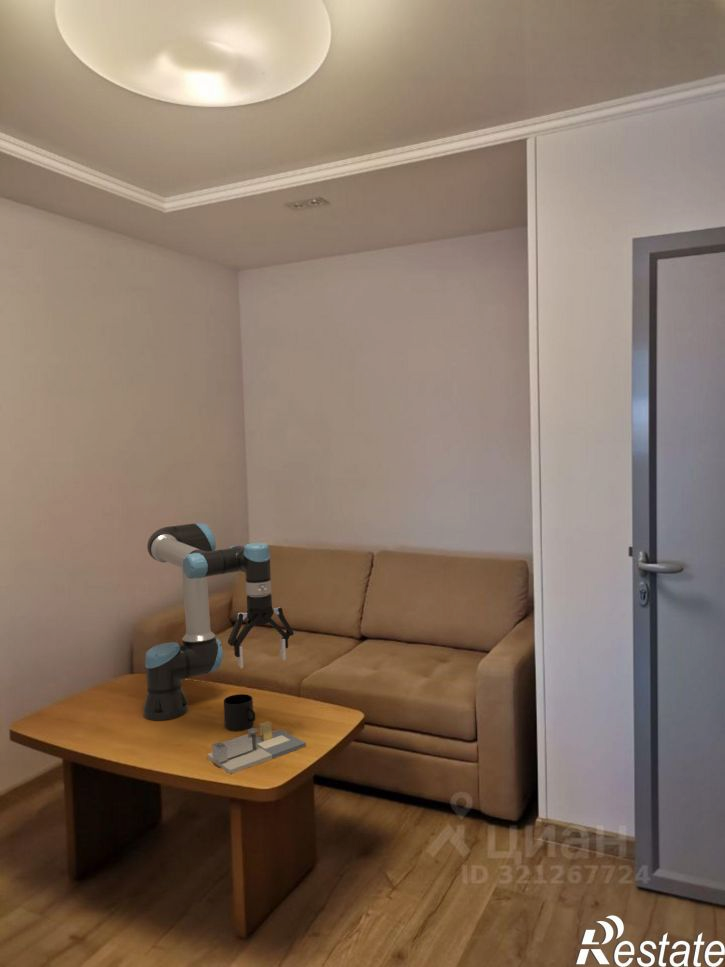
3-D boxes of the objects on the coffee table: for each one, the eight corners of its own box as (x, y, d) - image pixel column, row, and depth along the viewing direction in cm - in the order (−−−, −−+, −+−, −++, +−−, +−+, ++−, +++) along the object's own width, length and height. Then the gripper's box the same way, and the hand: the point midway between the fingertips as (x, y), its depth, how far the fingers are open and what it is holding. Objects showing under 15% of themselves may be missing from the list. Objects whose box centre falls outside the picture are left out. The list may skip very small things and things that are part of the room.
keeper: (260, 739, 227) (259, 724, 227) (268, 736, 229) (267, 721, 229) (264, 741, 226) (263, 726, 225) (272, 739, 228) (271, 723, 227)
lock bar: (246, 746, 222) (246, 733, 221) (254, 750, 218) (253, 737, 218) (212, 757, 215) (211, 744, 214) (219, 762, 211) (219, 749, 211)
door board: (207, 757, 219) (205, 734, 218) (280, 732, 235) (279, 711, 234) (230, 774, 208) (228, 750, 207) (305, 746, 224) (304, 724, 224)
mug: (245, 735, 234) (244, 708, 233) (218, 728, 241) (217, 701, 240) (265, 725, 242) (264, 698, 241) (239, 718, 248) (237, 692, 248)
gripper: (222, 602, 213) (225, 673, 214) (301, 591, 224) (304, 659, 225) (215, 597, 220) (218, 666, 221) (293, 586, 231) (296, 652, 232)
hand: (262, 663), depth 223 cm, fingers open, 13 cm apart
